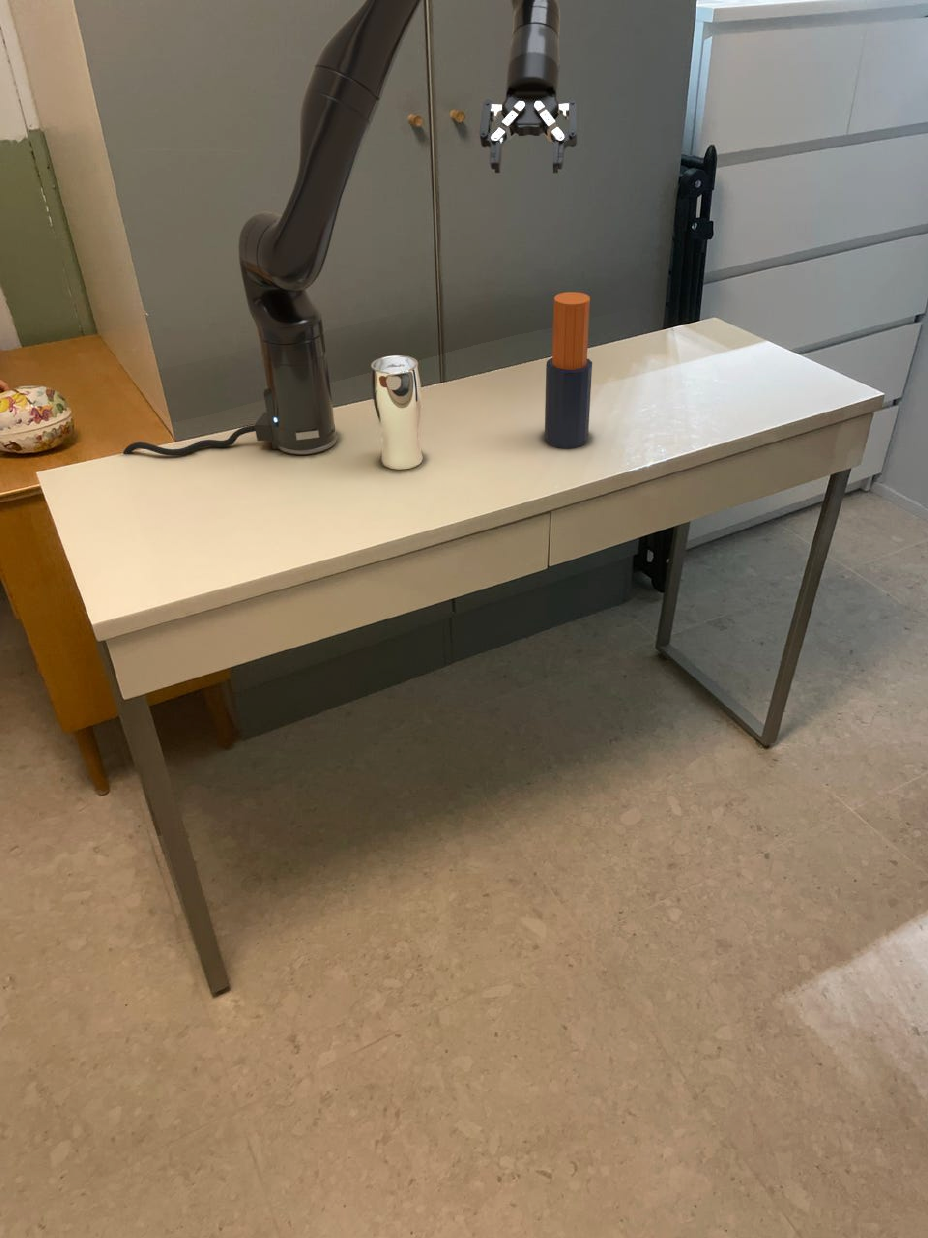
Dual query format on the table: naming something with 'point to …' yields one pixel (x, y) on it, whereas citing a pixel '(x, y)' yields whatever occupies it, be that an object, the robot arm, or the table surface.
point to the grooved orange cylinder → (570, 330)
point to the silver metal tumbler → (398, 409)
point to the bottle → (567, 405)
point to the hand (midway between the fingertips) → (526, 169)
